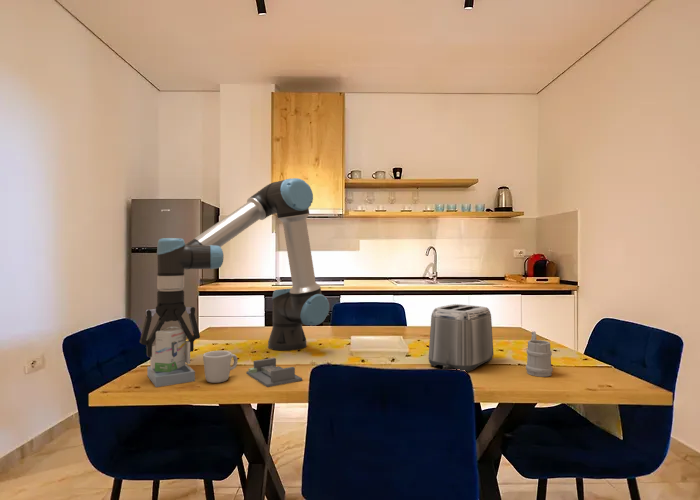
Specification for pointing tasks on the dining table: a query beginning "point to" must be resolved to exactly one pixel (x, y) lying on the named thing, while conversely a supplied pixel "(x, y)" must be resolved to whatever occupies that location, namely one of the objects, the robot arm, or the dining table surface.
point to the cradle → (272, 373)
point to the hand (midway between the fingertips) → (170, 365)
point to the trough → (171, 376)
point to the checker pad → (268, 369)
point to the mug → (539, 357)
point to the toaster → (460, 337)
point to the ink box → (170, 349)
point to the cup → (218, 365)
